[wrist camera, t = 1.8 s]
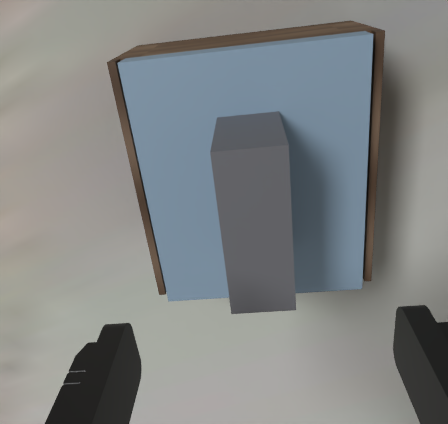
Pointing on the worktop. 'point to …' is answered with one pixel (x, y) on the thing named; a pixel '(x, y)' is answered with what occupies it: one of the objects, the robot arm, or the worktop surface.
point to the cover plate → (312, 152)
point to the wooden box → (244, 40)
